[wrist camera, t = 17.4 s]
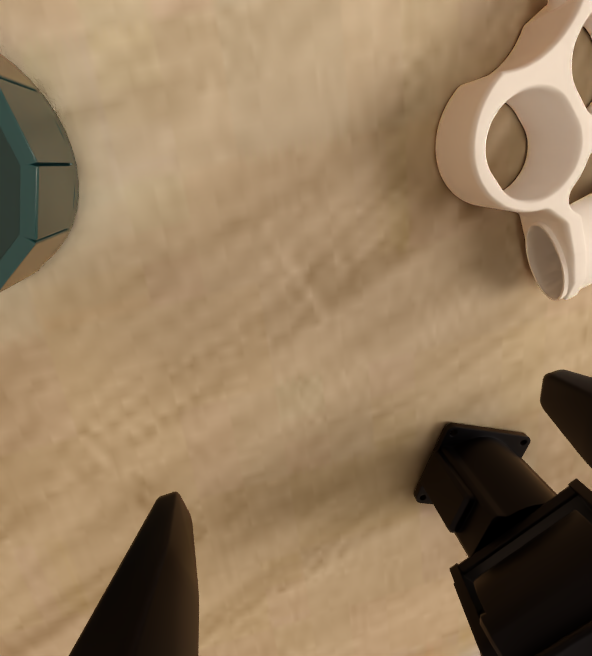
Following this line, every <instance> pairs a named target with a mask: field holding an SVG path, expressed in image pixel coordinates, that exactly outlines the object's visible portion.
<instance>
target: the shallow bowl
mask: <svg viewBox="0 0 592 656" xmlns="http://www.w3.org/2000/svg"><path fill="white" fill-rule="evenodd" d="M78 197H79V183H78V174H77V167H76V162H75V158H74V154H73V151H72V147H71V145H70V142H69V140H68V137H67V135H66V132H65V130H64V128H63V126H62V124H61V122H60V121H59V119H58V117H57V115H56V113H55V112H54V110H53V109H52V107H51V106H50V104H49V103H48V101H47V100H46V98H45V97H44V96H43V94H42V93H41V92H40V91H39V89H38V88H37V87H36V86H35V85H34V84H33V83H32V81H31V80H30V79H29V78H28V77H27V76H26V75H25V74H24V73H23V72H22V71H21V70H20V69H18V68H17V67H16V66H15V65H14V64H13V63H12V62H10V61H9V60H8V59H7V58H5V57H4V56H3V55H2V54H0V292H2V291H3V290H5V289H7V288H9V287H11V286H12V285H14V284H16V283H18V282H20V281H22V280H23V279H25V278H27V277H29V276H31V275H32V274H34V273H35V272H37V271H39V269H40V268H41V267H42V266H43V264H44V263H45V262H46V261H47V260H49V259H50V258H51V257H52V256H53V255H54V254H55V253H56V252H57V250H58V249H59V248H60V247H61V245H62V244H63V242H64V241H65V239H66V238H67V236H68V234H69V232H70V230H71V227H72V225H73V222H74V219H75V215H76V212H77V205H78Z"/></svg>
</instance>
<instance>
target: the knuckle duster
mask: <svg viewBox="0 0 592 656" xmlns="http://www.w3.org/2000/svg"><path fill="white" fill-rule="evenodd" d="M582 26H584V27H585V28H586V30H587V31H588V33H589V34H590V36H591V39H592V0H548V4H547V5H546V6H545V7H544V8H543V9H541V10H540V11H539V12H538V13H537V14H536V15H535V16H534V17H533V18H532V19H531V20H530V21H529V22H527V23H526V24H525V25H524V27H523V29H522V31H521V34H520V36H519V38H518V41H517V43H516V44H515V46H514V48H513V49H512V51H511V53H510V54H509V55H508V57H507V58H506V59H505V60H504V62H503V63H502V64H501V65H500V66H499V67H498V68H497V69H496V70H494V71H493V72H492V73H491V74H489V75H488V76H485V77H482V78H480V79H477V80H474V81H471V82H468V83H465V84H462V85H460V86H459V87H458V88H457V90H456V91H455V92H454V94H453V95H452V97H451V98H450V100H449V101H448V103H447V105H446V107H445V109H444V111H443V113H442V116H441V119H440V122H439V126H438V130H437V135H436V160H437V165H438V169H439V172H440V174H441V177H442V179H443V181H444V182H445V184H446V186H447V187H448V188H449V189H450V191H451V192H452V193H453V194H454V195H456V196H457V197H458V198H460V199H461V200H463V201H465V202H467V203H469V204H472V205H476V206H482V207H488V208H494V209H499V210H505V211H511V212H516V213H518V214H519V215H520V219H521V223H522V228H523V232H524V237H525V247H526V255H527V259H528V263H529V266H530V269H531V272H532V274H533V276H534V278H535V280H536V282H537V284H538V286H539V288H540V289H541V291H542V292H543V293H544V294H545V295H546V296H547V297H548V298H550V299H552V300H559V299H562V298H563V299H565V300H568V299H570V298H572V297H574V296H576V295H577V294H578V292H579V290H580V289H582V288H584V287H586V286H588V285H590V284H592V193H591V194H589V195H587V196H585V197H583V198H581V199H579V200H577V201H575V202H573V203H571V204H569V195H570V192H571V190H572V188H573V186H574V185H575V184H576V182H577V181H578V179H579V177H580V176H581V174H582V172H583V170H584V168H585V166H586V163H587V160H588V158H589V156H590V154H591V153H592V101H591V103H590V105H589V106H588V108H587V109H586V107H585V106H584V104H583V102H582V99H581V97H580V95H579V93H578V91H577V89H576V87H575V84H574V81H573V76H572V56H573V50H574V46H575V43H576V40H577V37H578V34H579V32H580V30H581V28H582ZM504 103H506V104H508V105H509V106H510V107H511V108H512V109H513V110H514V112H515V113H516V115H517V117H518V118H519V120H520V122H521V124H522V126H523V127H524V129H525V132H526V135H527V141H528V150H527V157H526V161H525V164H524V166H523V168H522V170H521V172H520V174H519V175H518V177H517V178H516V179H515V181H514V182H513V183H512V184H511V185H510V186H509V187H507V188H506V189H505V190H502V189H501V187H500V186H499V184H498V183H497V181H496V179H495V178H494V176H493V175H492V173H491V171H490V169H489V167H488V164H487V160H486V150H485V149H486V139H487V134H488V131H489V128H490V125H491V123H492V121H493V119H494V117H495V115H496V113H497V112H498V110H499V109H500V108H501V107H502V105H503V104H504Z"/></svg>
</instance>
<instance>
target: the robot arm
mask: <svg viewBox="0 0 592 656" xmlns="http://www.w3.org/2000/svg"><path fill="white" fill-rule="evenodd" d="M540 402H541V405H542V407H543V409H544V411H545V412H546V413H547V414H548V416H549V417H550V418H551V419H552V421H553V422H554V423H555V424H556V426H557V427H558V428H559V429H560V431H561V432H562V433H563V434H564V436H565V437H566V438H567V439H568V441H569V442H570V443H571V444H572V446H573V447H574V448H575V449H576V451H577V452H578V453H579V454H580V456H581V457H582V458H583V459H584V460H585V461H586V463H587V464H588V465H589V466H590V467H591V468H592V377H588V376H585V375H581V374H577V373H574V372H570V371H567V370H557V371H554V372H551V373H548V374H546V375H545V376H544V378H543V383H542V389H541V396H540ZM452 430H453V431H452ZM451 431H452V432H451ZM529 444H530V438H529V437H528V436H527V435H526V434H524V433H520V432H513V431H506V430H499V429H492V428H485V427H478V426H471V425H464V424H457V423H450V424H447V425H446V426H445V427H444V429H443V431H442V433H441V435H440V438H439V440H438V442H437V444H436V446H435V448H434V451H433V453H432V455H431V457H430V459H429V462H428V464H427V466H426V468H425V470H424V472H423V475H422V477H421V479H420V481H419V483H418V485H417V488H416V490H415V492H414V497H415V499H416V501H417V502H419V503H427V504H434V506H435V508H436V510H437V511H438V513H439V515H440V516H441V518H442V520H443V522H444V523H445V525H446V527H447V528H448V530H449V531H450V532H452V533H455V535H456V536H457V538H458V540H459V542H460V543H461V545H462V547H463V548H464V550H465V552H466V553H467V555H468V558H467V559H465V560H464V561H463V562H461V563H460V564H457V563H456V564H455V565H454V566H452V567H451V568H450V572H451V574H452V577H453V580H454V582H455V583H454V586H455V589H456V592H457V594H458V597H459V599H460V602H461V604H462V607H463V610H464V612H465V615H466V617H467V620H468V622H469V625H470V627H471V630H472V633H473V635H474V638H475V640H476V643H477V645H478V648H479V650H480V654H481V656H592V491H591V490H589V489H588V488H587V487H586V486H585V485H584V484H582V483H581V482H580V481H579V480H578V479H575V480H573V481H572V482H570V483H569V484H568V485H569V486H568V487H567V488H565V489H564V490H563V491H561V492H560V493H558V494H556V493H555V492H554V491H553V490H552V489H551V488H550V487H549V486H548V485H547V484H546V483H545V482H544V481H543V480H542V479H541V478H540V477H539V476H538V474H537V473H536V472H535V471H534V470H533V469H532V468H531V467H530V466H529V465H528V464H527V463H526V462H525V461H524V460H523V459H522V456H523V454H524V453H525V451H526V449H527V447H528V445H529ZM198 640H199V591H198V579H197V568H196V557H195V546H194V535H193V525H192V519H191V515H190V513H189V511H188V509H187V507H186V505H185V503H184V501H183V500H182V498H181V496H180V494H179V493H178V492H172V493H169V494H166V495H163V496H160V497H159V498H158V499H157V500H156V502H155V504H154V505H153V507H152V509H151V511H150V513H149V514H148V516H147V518H146V520H145V521H144V523H143V525H142V527H141V529H140V530H139V532H138V534H137V536H136V537H135V539H134V541H133V543H132V545H131V546H130V548H129V550H128V552H127V553H126V555H125V557H124V559H123V561H122V562H121V564H120V566H119V568H118V569H117V571H116V573H115V575H114V576H113V578H112V580H111V582H110V584H109V585H108V587H107V589H106V591H105V592H104V594H103V596H102V598H101V600H100V601H99V603H98V605H97V607H96V608H95V610H94V612H93V614H92V616H91V617H90V619H89V621H88V623H87V624H86V626H85V628H84V630H83V632H82V633H81V635H80V637H79V639H78V640H77V642H76V644H75V646H74V648H73V649H72V651H71V653H70V655H69V656H198Z"/></svg>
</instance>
